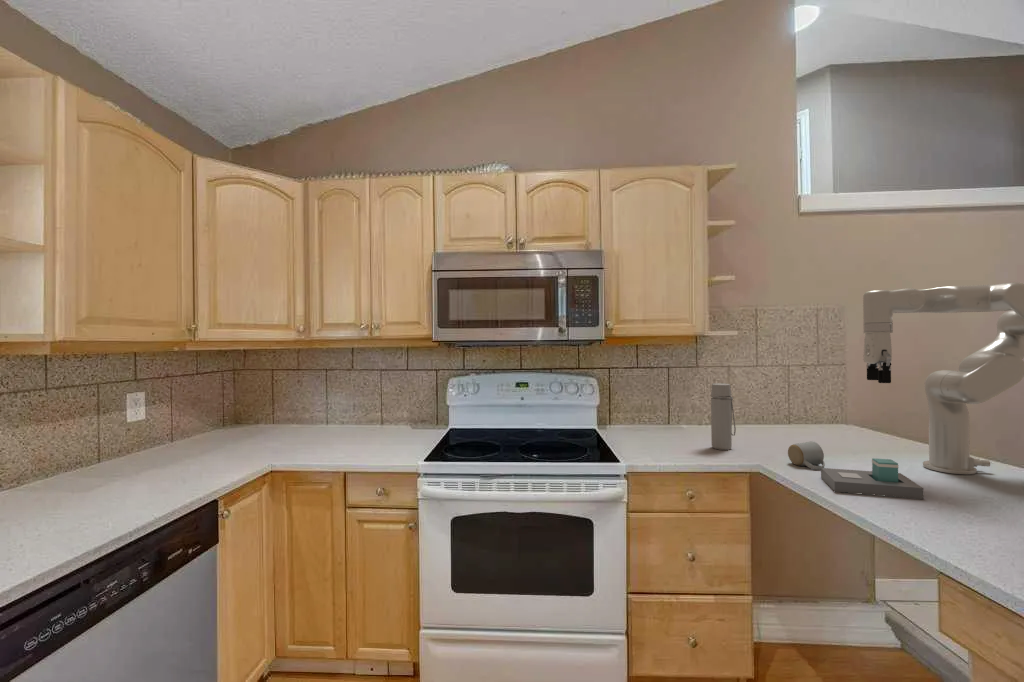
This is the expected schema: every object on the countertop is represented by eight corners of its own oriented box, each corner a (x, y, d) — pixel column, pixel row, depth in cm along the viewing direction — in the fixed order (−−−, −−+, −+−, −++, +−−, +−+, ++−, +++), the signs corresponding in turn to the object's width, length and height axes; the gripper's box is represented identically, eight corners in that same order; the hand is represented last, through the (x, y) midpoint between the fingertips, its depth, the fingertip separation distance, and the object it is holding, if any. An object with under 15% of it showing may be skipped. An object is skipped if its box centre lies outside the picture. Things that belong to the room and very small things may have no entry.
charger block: (891, 487, 134) (891, 459, 134) (898, 492, 130) (898, 463, 130) (872, 485, 136) (871, 458, 136) (878, 490, 131) (878, 462, 131)
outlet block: (900, 483, 137) (900, 472, 137) (923, 499, 124) (923, 487, 124) (821, 477, 144) (820, 467, 144) (834, 492, 131) (834, 480, 131)
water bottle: (717, 451, 179) (716, 385, 179) (707, 446, 187) (706, 383, 186) (740, 450, 179) (739, 384, 179) (730, 445, 187) (729, 382, 187)
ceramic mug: (785, 462, 161) (785, 440, 161) (806, 461, 163) (806, 439, 163) (810, 471, 151) (810, 448, 151) (832, 470, 152) (832, 446, 152)
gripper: (855, 329, 161) (855, 378, 161) (874, 328, 145) (874, 384, 145) (881, 328, 159) (882, 379, 159) (903, 328, 142) (904, 384, 143)
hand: (878, 381), depth 152 cm, fingers open, 9 cm apart
